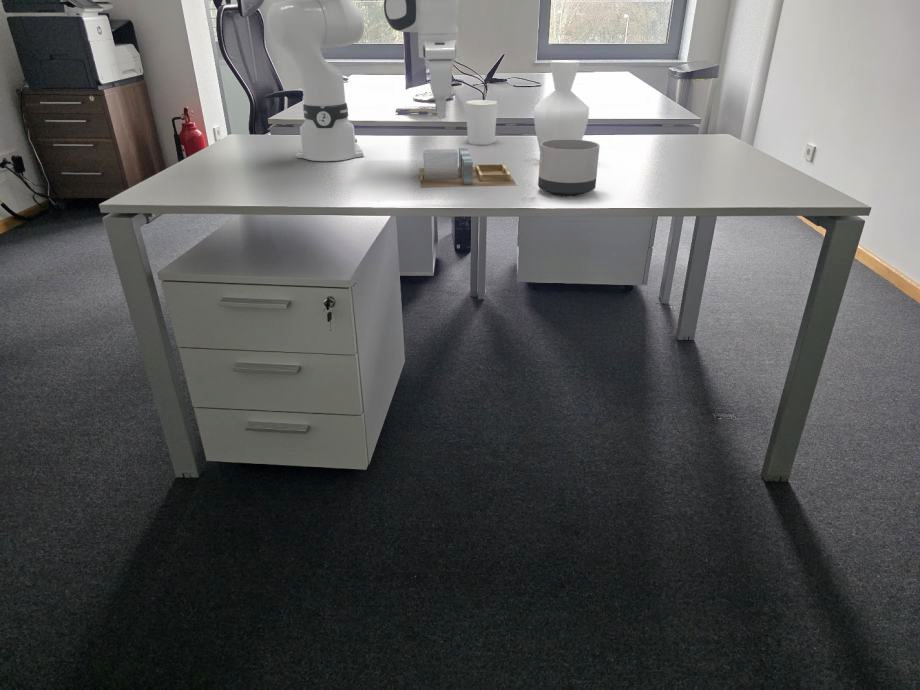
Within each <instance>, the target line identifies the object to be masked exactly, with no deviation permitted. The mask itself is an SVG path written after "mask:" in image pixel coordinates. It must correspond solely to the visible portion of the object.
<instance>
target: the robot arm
mask: <svg viewBox="0 0 920 690" xmlns="http://www.w3.org/2000/svg"><path fill="white" fill-rule="evenodd" d="M383 11H384V12H383V13H384V16H385V19H386V22H387V23H388V25H389V26H390V27H391V28H392V29H393V30H395V31H397V32H402V33H417V37H418V38H417V39H418V41H417V42H418V43H417V44H418V58H420V59H424V66H425V67H428V70H429V78H430V79H429V82H430V90H431V93H432V96H433V98H434V103H435V113H436V117H437V119H439V120H441V119H443V120H444V119H445V118H446V110H447V108H446V107H447V99H449V98H450V97H451V93H452V83H453V67H454V60H456V58H458V57H460V50H459V49H460V45H459V42H460V41H459V38H460V37H459V35H460V34H459V27H458V22H457V19H458V14H459V0H383ZM266 28H267V31H268V33H269V35H270V37H271V39H272V41H273V42H274V43H276V45H278V46H280V48H282V49H283V50H284V51H285V52H286V53H287V54H288V55H289V57H290V58H291V59H292V61H293V62H294V64H295V66H296V68H297V71H298V74H299V78H300V82H301V88H302V95H303V105H302V112H303V118H304V122H303V123H301V125H300V126H299V131H300V143H301V151H299V152H296V158H298V159H305V160H309V161H313V162H314V161H315V162H336V161H337V162H338V161H344V160H349V159H354V158H359V157H364V155H365V154H364V151H363V150H362V148H361V147H360V146H359V144H358V140H357V137H356V136H355V134H356V133H355V127H354V125H353V123H352V122H351V121H350V120H349V118H348V117H349V109H348V104H347V102H346V96H345V85H344V82H345V81H344V75H343V73H342V72H341V70H340V69H339V68H338V66H336V65H334V64H333V63H331V62H330V61H327V60H326V59H325V58H324V56H323V54H322V50H321V48H336V47H337V48H338V47H339V48H342V47H346V46H350V45H353V44H357V43H359V41H360V40H361V39H362V37H363V35H364V32H365V19H364V16H363V13H362V10H361V9H360V7H359V6H358V5H357V4H356V3H355V2H353V1H352V0H282V1H278V2H274V3H272V4H271V5H270V7H269V8H268V11H267V14H266Z"/></svg>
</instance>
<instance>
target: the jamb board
mask: <svg viewBox="0 0 920 690" xmlns="http://www.w3.org/2000/svg"><path fill="white" fill-rule="evenodd" d="M474 165H475V166H474ZM419 184H420V188H458V187H459V188H460V187H462V188H465V187H466V188H467V187H470V188H471V187H506V186H507V187H510V186H511V187H512V186H513V187H514V186H515V187H516V186H518V184H517V183H516V181H515V180H514V178H513V177H512V175H511V173H510V172H509V170H508V167H507V166H506V164H505V163H495V164H494V163H491V164H474V161H473V160H472V157H471V155H470V152H469V149H468V148H466V147H465V148H464V147H463V148H462V147H461V148H458V178H447V179H424V167H419Z"/></svg>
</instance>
